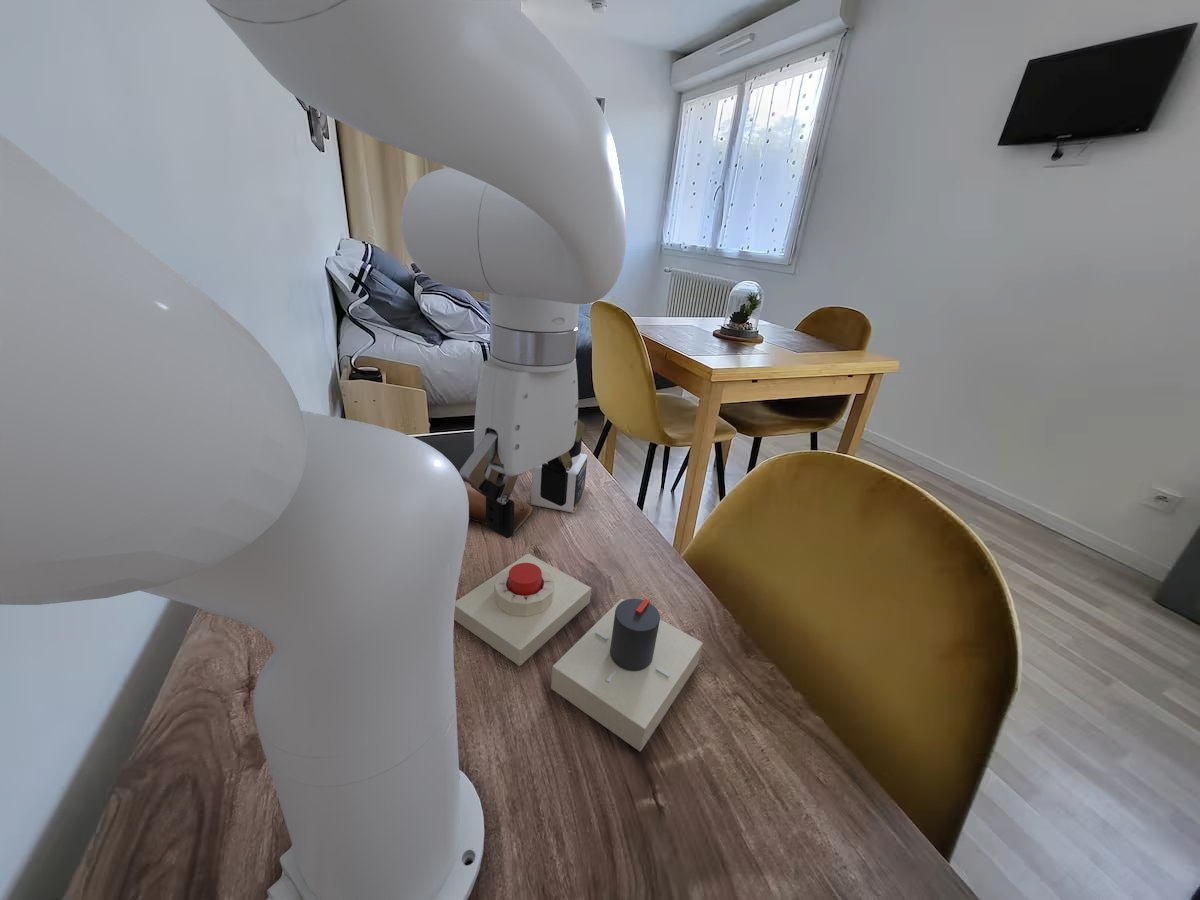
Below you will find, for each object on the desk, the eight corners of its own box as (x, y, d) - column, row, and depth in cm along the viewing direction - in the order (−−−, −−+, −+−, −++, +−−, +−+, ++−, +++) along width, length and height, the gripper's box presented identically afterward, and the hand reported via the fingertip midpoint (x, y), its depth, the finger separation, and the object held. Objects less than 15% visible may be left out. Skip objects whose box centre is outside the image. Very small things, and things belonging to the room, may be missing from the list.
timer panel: (640, 752, 41) (645, 727, 40) (550, 688, 46) (552, 664, 45) (698, 663, 51) (703, 641, 49) (618, 618, 55) (621, 596, 54)
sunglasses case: (537, 505, 75) (528, 482, 70) (518, 546, 71) (508, 525, 66) (436, 480, 79) (421, 456, 74) (414, 516, 76) (396, 494, 70)
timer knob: (641, 678, 45) (649, 635, 42) (602, 657, 46) (607, 615, 44) (659, 649, 48) (667, 607, 46) (622, 630, 50) (628, 590, 48)
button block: (519, 666, 48) (520, 636, 47) (452, 619, 53) (451, 590, 51) (590, 602, 57) (593, 575, 56) (527, 566, 62) (528, 541, 61)
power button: (525, 601, 52) (526, 588, 51) (501, 586, 53) (501, 573, 53) (547, 584, 54) (548, 571, 54) (524, 570, 56) (524, 558, 55)
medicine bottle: (574, 513, 75) (579, 443, 70) (529, 505, 76) (532, 435, 71) (584, 492, 81) (590, 426, 76) (543, 484, 82) (547, 419, 77)
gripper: (562, 327, 51) (554, 475, 59) (422, 349, 38) (434, 537, 45) (622, 341, 48) (605, 497, 55) (490, 371, 34) (490, 572, 42)
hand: (527, 514), depth 50 cm, fingers open, 7 cm apart
